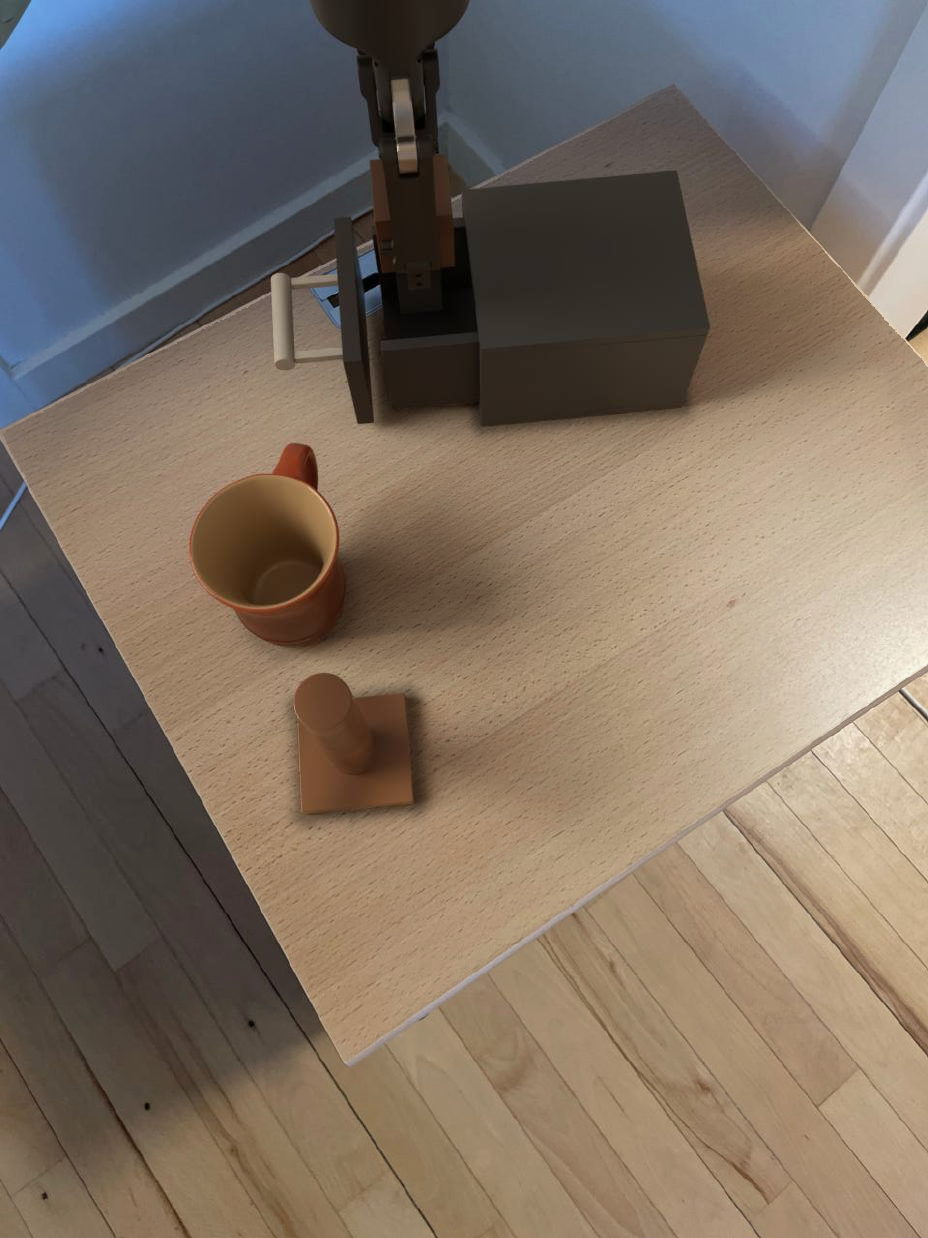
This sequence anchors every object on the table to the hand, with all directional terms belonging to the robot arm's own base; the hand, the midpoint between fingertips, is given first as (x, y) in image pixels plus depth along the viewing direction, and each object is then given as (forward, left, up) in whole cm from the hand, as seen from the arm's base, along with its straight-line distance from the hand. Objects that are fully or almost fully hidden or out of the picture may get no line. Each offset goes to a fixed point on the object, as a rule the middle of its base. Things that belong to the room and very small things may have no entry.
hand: (418, 273), depth 64 cm
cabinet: (+8, +7, -9) cm, 14 cm away
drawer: (-1, -1, -8) cm, 9 cm away
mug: (+2, -19, -10) cm, 22 cm away
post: (+12, -27, -9) cm, 31 cm away
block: (0, 0, +3) cm, 3 cm away
